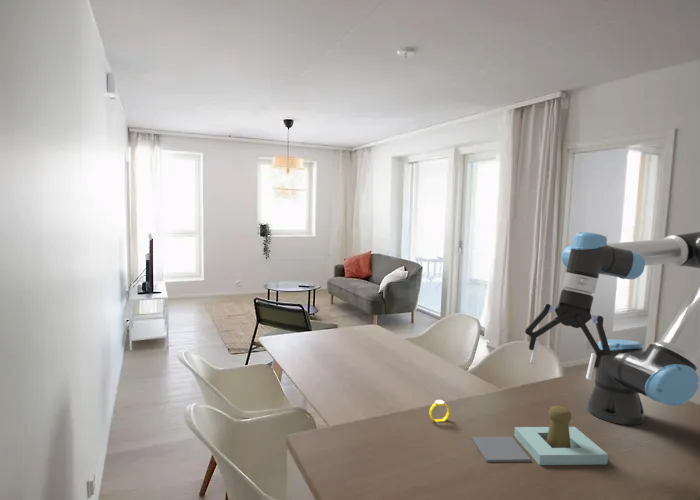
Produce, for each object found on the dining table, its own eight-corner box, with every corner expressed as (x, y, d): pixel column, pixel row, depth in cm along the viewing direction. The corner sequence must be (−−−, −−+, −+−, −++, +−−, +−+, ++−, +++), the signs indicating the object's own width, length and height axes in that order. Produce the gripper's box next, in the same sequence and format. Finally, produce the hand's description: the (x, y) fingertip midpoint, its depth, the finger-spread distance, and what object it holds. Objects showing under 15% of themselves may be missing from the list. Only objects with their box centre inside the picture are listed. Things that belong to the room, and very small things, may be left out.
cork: (574, 457, 108) (576, 414, 107) (548, 454, 109) (550, 412, 108) (567, 444, 114) (569, 404, 113) (542, 442, 115) (544, 402, 114)
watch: (432, 425, 124) (431, 405, 123) (428, 420, 127) (427, 401, 126) (451, 422, 125) (450, 402, 125) (447, 417, 128) (446, 398, 127)
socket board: (574, 435, 119) (574, 426, 119) (607, 464, 105) (607, 454, 105) (514, 435, 118) (514, 427, 118) (539, 465, 104) (539, 455, 104)
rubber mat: (511, 438, 116) (511, 436, 116) (530, 461, 105) (530, 459, 105) (471, 439, 116) (471, 436, 116) (486, 462, 105) (486, 459, 105)
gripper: (527, 280, 113) (509, 359, 113) (636, 304, 104) (616, 389, 104) (526, 280, 120) (509, 353, 120) (629, 302, 111) (610, 382, 111)
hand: (559, 370), depth 112 cm, fingers open, 13 cm apart
